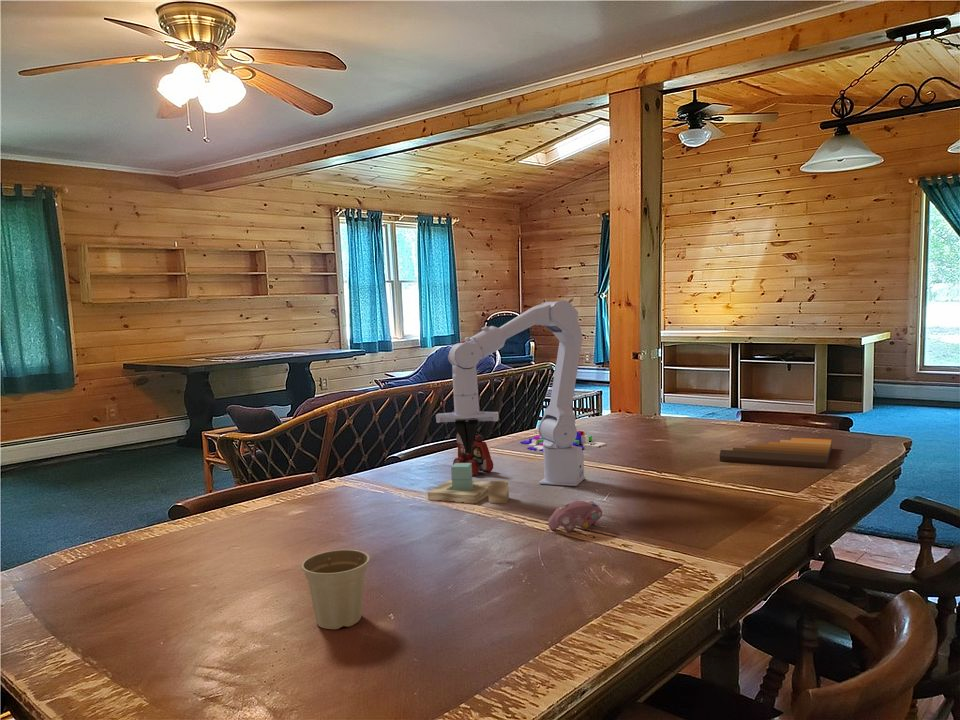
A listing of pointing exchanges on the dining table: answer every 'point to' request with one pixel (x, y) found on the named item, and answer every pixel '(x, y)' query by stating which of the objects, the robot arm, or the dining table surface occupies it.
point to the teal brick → (462, 476)
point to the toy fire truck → (475, 455)
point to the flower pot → (336, 586)
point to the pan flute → (783, 453)
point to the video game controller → (575, 515)
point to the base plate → (459, 492)
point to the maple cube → (498, 492)
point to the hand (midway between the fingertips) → (469, 452)
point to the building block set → (580, 439)
